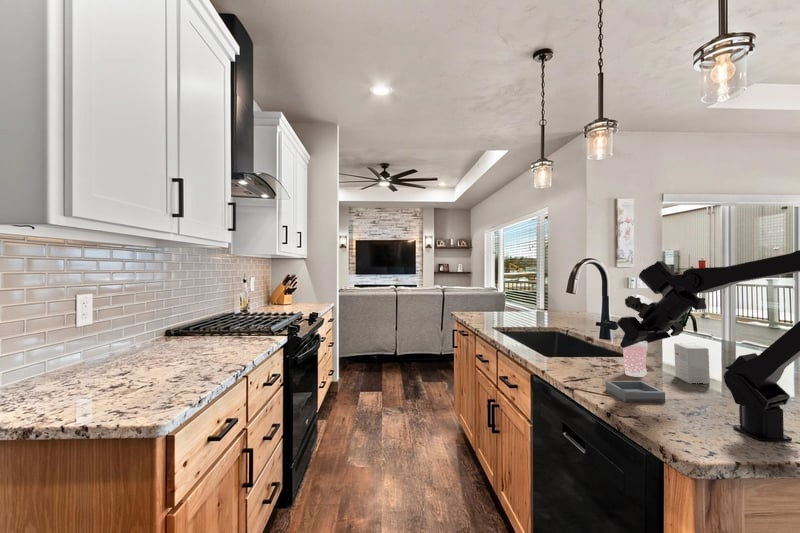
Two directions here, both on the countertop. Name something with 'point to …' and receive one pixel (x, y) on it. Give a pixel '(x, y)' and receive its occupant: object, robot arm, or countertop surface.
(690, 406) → the countertop surface
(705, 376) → the small box
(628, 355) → the beverage cup
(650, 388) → the tray
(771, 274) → the robot arm
